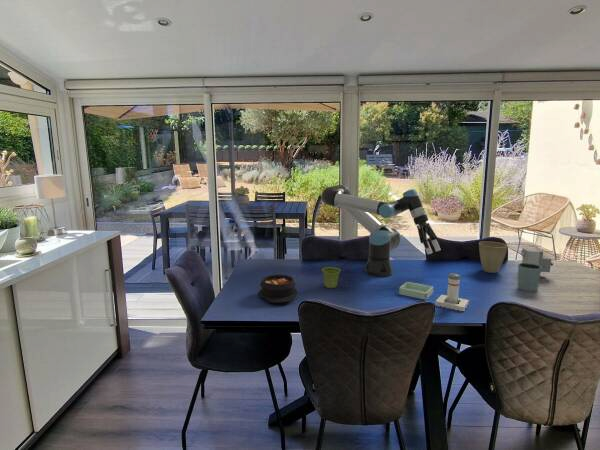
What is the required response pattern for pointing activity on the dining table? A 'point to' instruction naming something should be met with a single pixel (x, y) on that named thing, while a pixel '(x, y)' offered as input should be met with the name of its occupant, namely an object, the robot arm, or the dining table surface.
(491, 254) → the plant pot
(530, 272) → the teal cylinder
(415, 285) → the parts tray
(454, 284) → the fuse
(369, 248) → the robot arm
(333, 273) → the plant pot
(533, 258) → the circuit breaker
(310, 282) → the dining table surface
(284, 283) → the casserole
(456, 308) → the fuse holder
